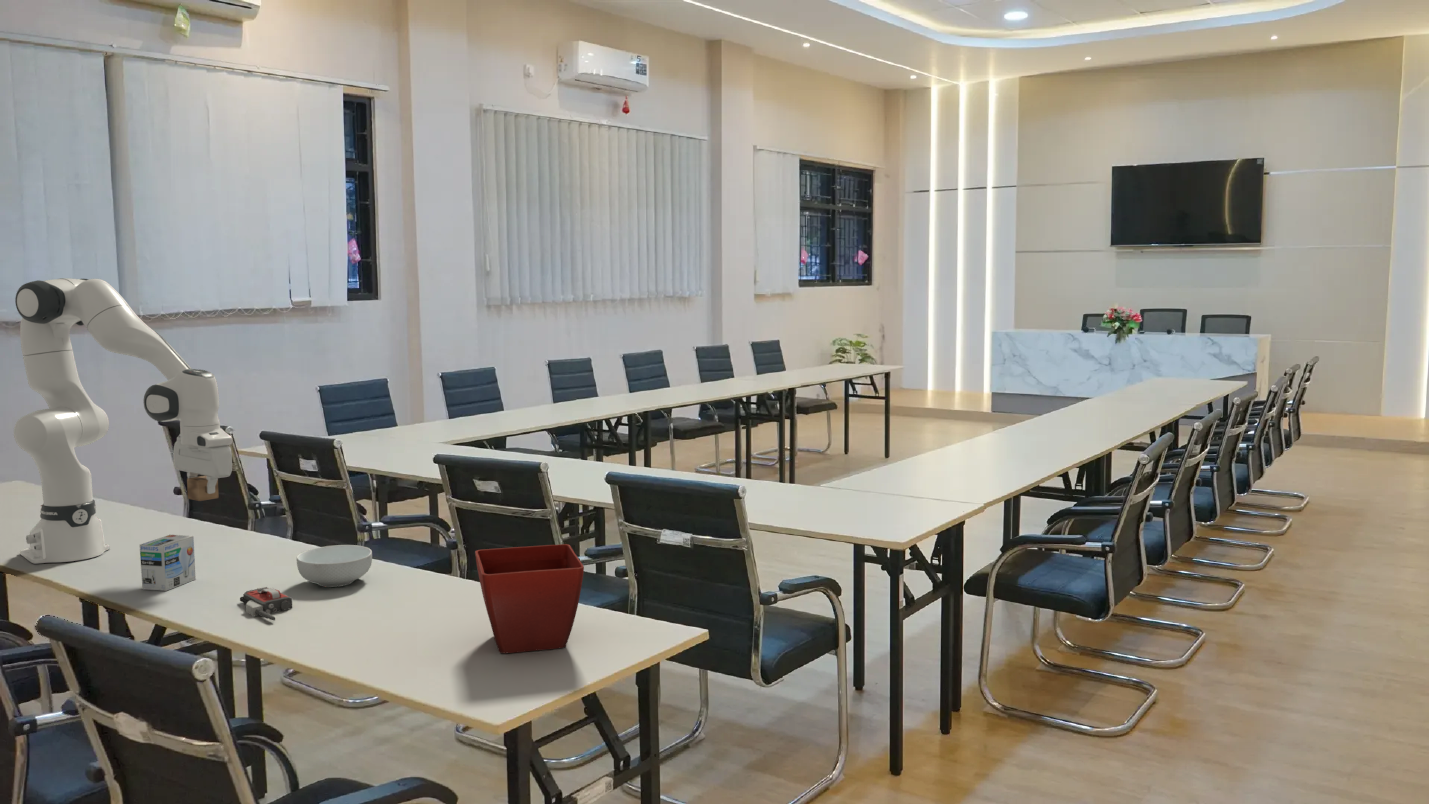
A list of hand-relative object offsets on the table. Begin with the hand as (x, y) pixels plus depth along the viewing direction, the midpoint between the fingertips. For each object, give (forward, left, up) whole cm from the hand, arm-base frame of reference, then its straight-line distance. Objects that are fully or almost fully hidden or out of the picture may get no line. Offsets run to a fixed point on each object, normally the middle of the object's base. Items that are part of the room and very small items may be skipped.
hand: (202, 491), depth 267 cm
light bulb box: (+6, -13, -20) cm, 24 cm away
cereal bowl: (+37, +10, -20) cm, 43 cm away
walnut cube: (0, 0, -2) cm, 2 cm away
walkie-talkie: (+44, -12, -20) cm, 49 cm away
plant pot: (+105, +5, -20) cm, 107 cm away
